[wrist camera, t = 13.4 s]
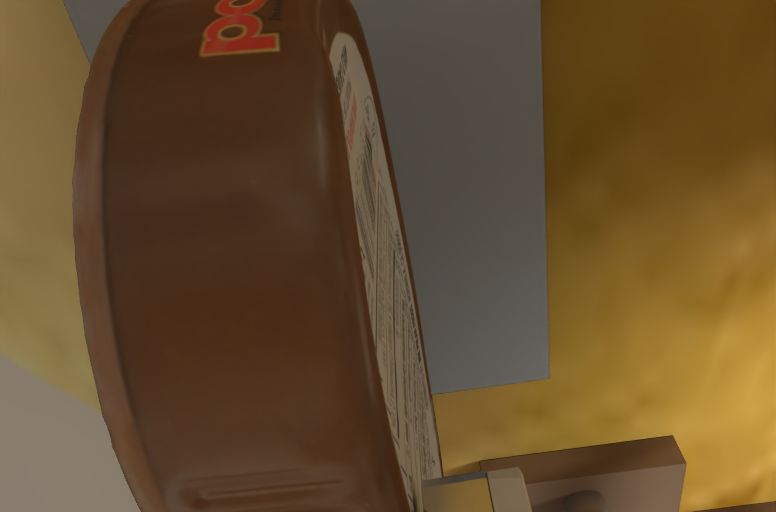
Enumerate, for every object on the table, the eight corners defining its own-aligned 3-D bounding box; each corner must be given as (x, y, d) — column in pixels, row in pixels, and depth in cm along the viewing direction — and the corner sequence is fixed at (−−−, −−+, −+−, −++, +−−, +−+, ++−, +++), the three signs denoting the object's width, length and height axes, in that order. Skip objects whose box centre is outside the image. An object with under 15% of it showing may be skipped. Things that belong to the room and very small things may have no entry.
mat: (530, -125, 13) (537, -121, 13) (545, 365, 21) (549, 378, 21) (59, -37, 14) (49, -31, 13) (245, 406, 22) (243, 421, 22)
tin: (204, -58, 11) (-171, 170, 4) (386, -88, 11) (295, 109, 4) (361, 491, 20) (319, 870, 13) (467, 486, 19) (484, 876, 12)
